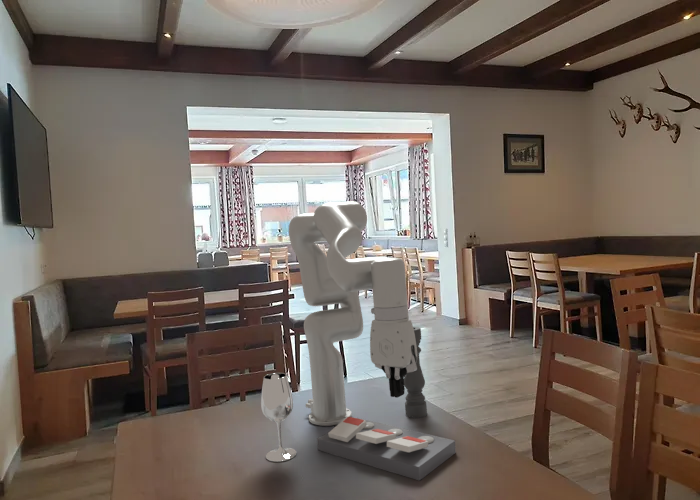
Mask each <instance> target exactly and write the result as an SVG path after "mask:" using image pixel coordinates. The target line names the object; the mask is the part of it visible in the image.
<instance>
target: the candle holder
mask: <svg viewBox="0 0 700 500" xmlns="http://www.w3.org/2000/svg"><path fill="white" fill-rule="evenodd" d="M413 329H414V333H415V339H416V346H417V362H416V366H417V370H416V371H414V372H409V373H407V374H406V376H405V377H404V387H405V390H406V392H407V393H406V395H405V400H406V401H405V402H404V410H405V416H406V417H408V418H413V419H418V418H419V419H420V418H424V417H426V416H427V415H428V409H427V408H428V406H427V401H426V396H425V395H424V393H423V389H424V388H425V386H426V385H425V384H426V381H425V378H424V374H423V369H422V367H421V363H420V353H421V352H422V348H421V347H420V343H421V340H422V329H421V327H420V326H413Z"/></svg>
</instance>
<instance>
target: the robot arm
mask: <svg viewBox="0 0 700 500" xmlns="http://www.w3.org/2000/svg"><path fill="white" fill-rule="evenodd" d="M367 222H368V214H367V210H366V209H365V207H364V206H363V205H362V204H361V203H359V202H357V201H335V202H326V203H323V204H320V205H319V206H318V207H316V209H315V210H314V212H307V213H306V212H305V213H302V214H297V215H295V216H293V218H291V220H290V221H289V225H288V236H289V242H290V245H291V247H292V251H293V252H294V254H295V256H296V258H297V262H298V266H299V272H300V278H301V279H300V280H301V284H302V286H301V287H302V291H303V296H304V300H305V302H306V304H307V305H308V306H310V307H323V306H331V305H337V304H338V305H340V307H338V308H331V309H323V310H317V311H314V312H311V313H309V314H308V315H307V316H306V317H305V319H304V320H303V331H304V335H305V340H306V343H307V344H306V345H307V349H308V356H309V367H310V378H311V380H310V381H311V392H312V398H309V399H308V401H307V402H306V403H305V408H307V409H310V411H311V413H309V415H308V421H309V422H310V423H311V424H312V425H316V426H321V427H322V426H323V427H328V426H337V425H338V424H339V423H341V422H342V421H343V420H344V419H345V418H346V417H348V416H349V417H352V416H353V413H352V410H351V409H349V408H347V403H346V389H345V377H344V364H343V363H344V361H343V356H342V354H341V353H340V351H339V350H338V349H337V347H336V346H335V345H334V343H338V342H343V341H349V340H353V339H357V338H359V337H360V336H361V335H362V334H363V331H364V319H363V313H362V308H361V301H360V296H359V292H362V291H368V290H369V291H370V290H372V298H373V307H372V308H371V310H370V313H371V314H373V315H374V319H372V321H371V323H370V324H371V325H370V333H369V334H370V335H369V351H370V356H369V357H370V361H371V363H372V364H374V367H375V368H377V369H380V370H382V371H383V372H384V374H385V377H386V379H388V387H389V394H390V397H391V398H399V397H402V396H404V394H405V390H406V388H405V386H404V377H405V376H406V374H407V373H409V372H414V371H416V370H417V366H416V362H417V346H416V339H415V333H414V329H413V327H414V326H413V322H412V319H411V318H409V305H408V295H407V294H408V293H407V291H408V290H407V280H406V279H407V278H406V265H405V261H404V260H403V259H402V258H400V257H387V256H384V255H383V256H382V255H381V256H371V257H370V256H369V257H360V258H359V257H357V258H352V259H351V258H350V259H349V258H348V259H347V257H349V256H350V255H352V254H354V253H355V252H356V251H357V250H359V248H360V246H361V244H362V241H363V234H362V231H363V230H365V228H366V226H367ZM317 242H318V243H320V242H321V243H322V242H327V244H328V245H329V246H328V249H327V251H326V254H325V252H324V251H323V250H322V248H320V247H319V246H318V245H317V244H316V243H317Z"/></svg>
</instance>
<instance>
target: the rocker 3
mask: <svg viewBox="0 0 700 500" xmlns="http://www.w3.org/2000/svg"><path fill="white" fill-rule="evenodd" d="M387 447H390V448H394V449H398V450H401V451H405V452H412V451H416V450H419V449H422V448H426V447H428V441H426V440H422V439H418V438H414V437H409V436H406V437H402V438H398V439H394V440H389V441H387Z"/></svg>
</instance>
